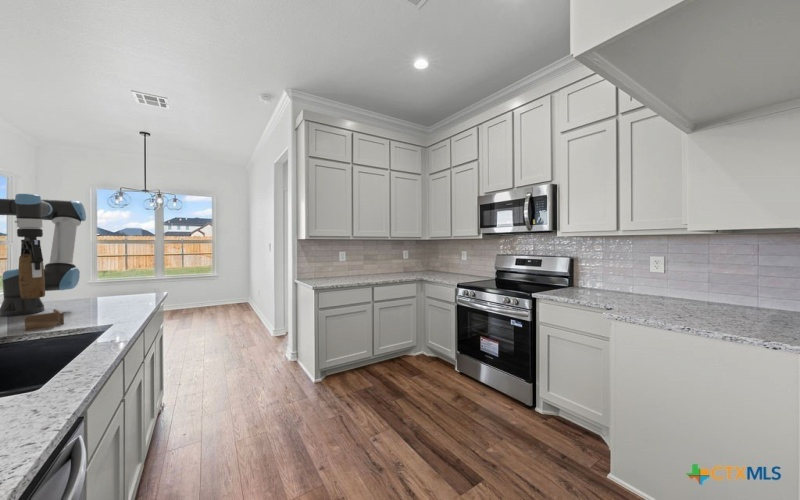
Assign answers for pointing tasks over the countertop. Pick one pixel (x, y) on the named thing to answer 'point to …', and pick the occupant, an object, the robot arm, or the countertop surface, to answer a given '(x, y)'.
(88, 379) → the countertop surface
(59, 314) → the lane rail
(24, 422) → the countertop surface
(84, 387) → the countertop surface
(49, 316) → the lane backstop
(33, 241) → the robot arm
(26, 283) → the block
